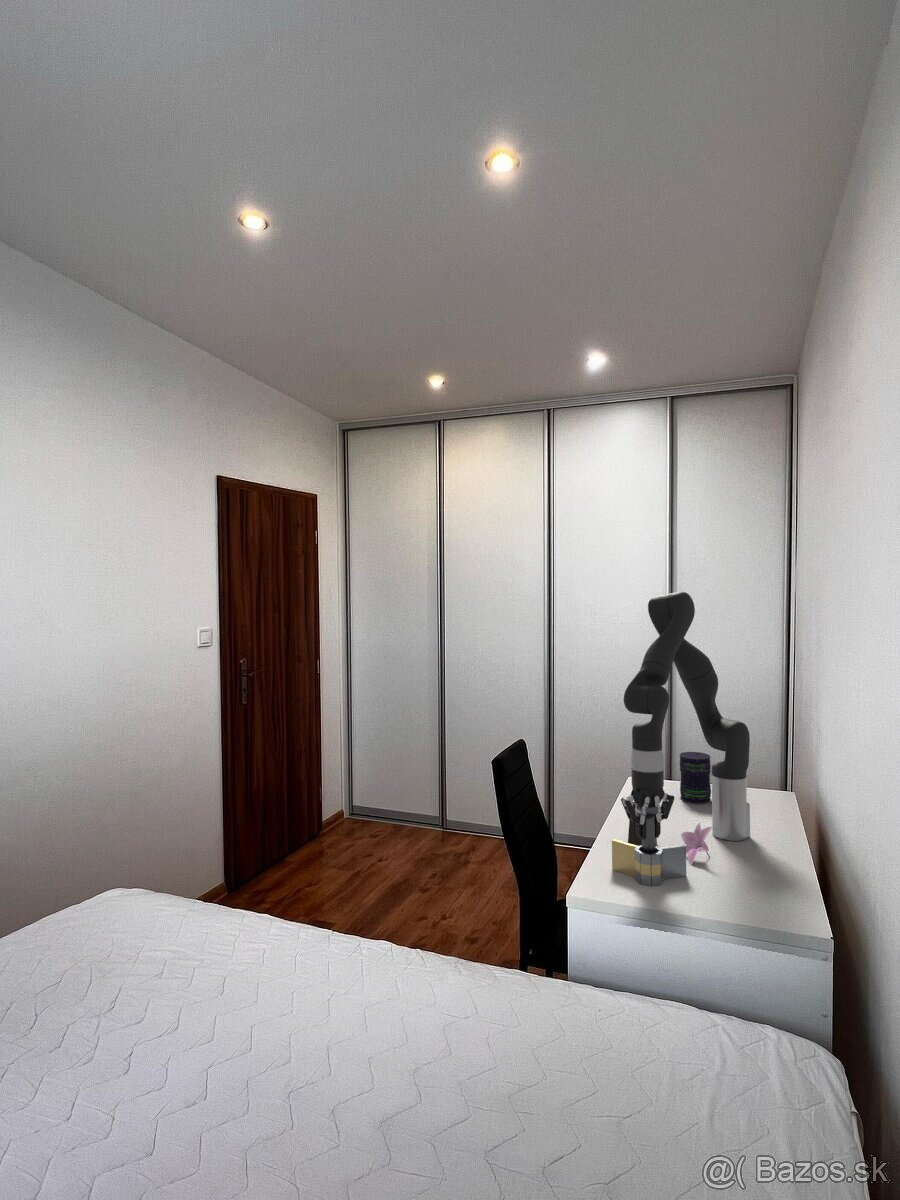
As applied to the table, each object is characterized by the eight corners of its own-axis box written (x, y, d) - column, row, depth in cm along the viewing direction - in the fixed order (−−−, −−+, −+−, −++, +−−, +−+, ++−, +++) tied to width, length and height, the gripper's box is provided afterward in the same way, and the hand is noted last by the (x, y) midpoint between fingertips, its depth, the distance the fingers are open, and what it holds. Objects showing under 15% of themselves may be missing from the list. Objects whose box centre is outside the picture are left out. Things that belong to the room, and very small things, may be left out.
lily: (682, 851, 185) (669, 825, 183) (721, 839, 182) (708, 813, 180) (687, 879, 175) (673, 852, 173) (729, 868, 171) (715, 840, 170)
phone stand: (649, 854, 181) (648, 809, 181) (627, 850, 184) (626, 806, 184) (657, 843, 189) (656, 800, 189) (635, 839, 192) (635, 797, 192)
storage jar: (707, 805, 220) (706, 760, 220) (676, 801, 226) (676, 756, 225) (714, 797, 229) (713, 753, 228) (684, 793, 234) (683, 750, 234)
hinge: (664, 861, 176) (664, 833, 175) (692, 880, 164) (692, 849, 164) (611, 868, 172) (610, 839, 172) (635, 888, 160) (635, 857, 160)
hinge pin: (652, 867, 167) (651, 801, 167) (663, 875, 163) (662, 807, 163) (635, 869, 166) (634, 803, 166) (645, 877, 161) (644, 809, 161)
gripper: (664, 761, 170) (665, 829, 170) (613, 765, 166) (614, 835, 166) (681, 768, 162) (682, 839, 162) (629, 773, 159) (630, 846, 159)
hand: (648, 837), depth 164 cm, fingers closed on hinge pin, 3 cm apart
